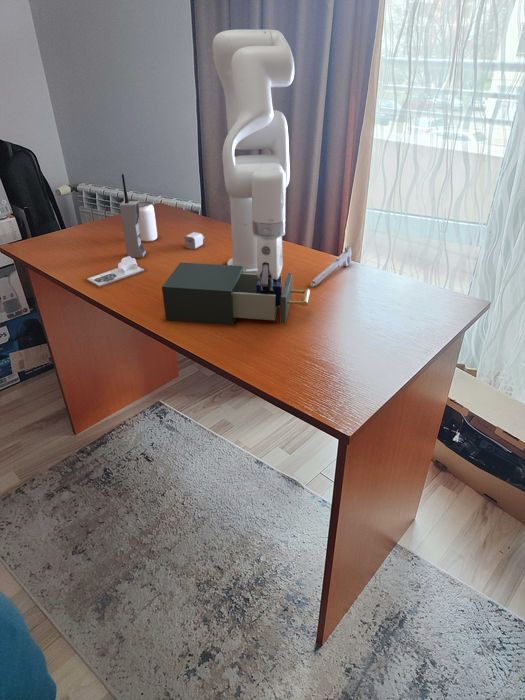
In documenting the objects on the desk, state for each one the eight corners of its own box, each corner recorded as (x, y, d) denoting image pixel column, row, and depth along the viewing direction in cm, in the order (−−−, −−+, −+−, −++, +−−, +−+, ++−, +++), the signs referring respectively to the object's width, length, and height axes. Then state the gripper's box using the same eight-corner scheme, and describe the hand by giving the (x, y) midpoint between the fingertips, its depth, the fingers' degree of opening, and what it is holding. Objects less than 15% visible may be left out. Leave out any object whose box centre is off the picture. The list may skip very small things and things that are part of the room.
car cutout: (131, 264, 152) (129, 250, 149) (144, 270, 148) (142, 256, 145) (87, 280, 142) (83, 265, 140) (99, 286, 139) (96, 271, 136)
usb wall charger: (185, 247, 163) (184, 235, 161) (198, 240, 169) (197, 229, 166) (195, 249, 162) (194, 237, 160) (207, 243, 167) (206, 231, 165)
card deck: (281, 301, 126) (281, 282, 123) (280, 306, 124) (280, 286, 121) (257, 300, 126) (257, 280, 124) (256, 304, 124) (256, 284, 122)
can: (137, 236, 172) (132, 201, 166) (156, 234, 174) (152, 200, 167) (139, 243, 167) (134, 207, 161) (158, 240, 169) (154, 205, 162)
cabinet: (244, 297, 132) (243, 266, 128) (232, 325, 120) (231, 291, 115) (183, 293, 135) (180, 262, 130) (165, 319, 122) (161, 286, 118)
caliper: (347, 264, 151) (349, 244, 148) (350, 264, 151) (352, 245, 147) (309, 286, 138) (310, 265, 134) (312, 287, 137) (313, 266, 134)
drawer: (310, 299, 129) (311, 274, 125) (305, 325, 118) (307, 298, 114) (232, 294, 132) (231, 269, 128) (221, 319, 121) (219, 293, 117)
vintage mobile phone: (143, 257, 156) (131, 175, 143) (127, 257, 156) (114, 175, 143) (146, 253, 159) (134, 172, 146) (130, 253, 159) (117, 172, 146)
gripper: (280, 239, 106) (279, 316, 115) (289, 217, 121) (288, 286, 130) (245, 238, 107) (248, 314, 116) (258, 216, 122) (259, 285, 131)
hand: (269, 299), depth 123 cm, fingers open, 5 cm apart
